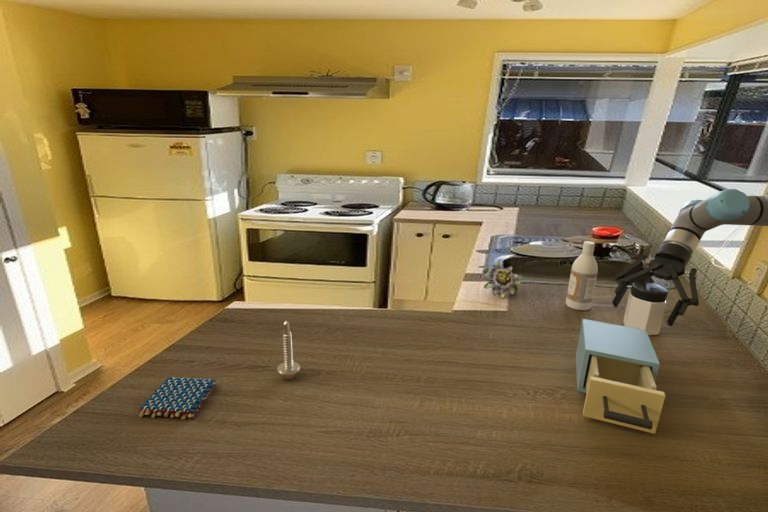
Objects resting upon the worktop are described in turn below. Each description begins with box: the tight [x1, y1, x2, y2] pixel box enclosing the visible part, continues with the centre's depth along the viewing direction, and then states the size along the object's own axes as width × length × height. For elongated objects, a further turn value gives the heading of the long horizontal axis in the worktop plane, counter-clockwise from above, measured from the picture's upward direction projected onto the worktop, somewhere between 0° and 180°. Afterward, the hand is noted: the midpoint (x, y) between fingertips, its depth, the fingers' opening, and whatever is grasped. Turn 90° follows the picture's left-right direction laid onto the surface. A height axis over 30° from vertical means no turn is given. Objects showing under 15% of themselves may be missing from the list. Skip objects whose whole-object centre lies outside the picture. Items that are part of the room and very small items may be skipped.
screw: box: [276, 320, 302, 381], centre depth 87 cm, size 13×5×5 cm
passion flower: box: [482, 261, 522, 299], centre depth 135 cm, size 11×11×12 cm
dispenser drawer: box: [582, 354, 666, 435], centre depth 79 cm, size 19×12×8 cm, turn 158°
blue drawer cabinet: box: [574, 318, 661, 394], centre depth 90 cm, size 15×13×10 cm
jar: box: [622, 281, 669, 336], centre depth 113 cm, size 9×8×12 cm
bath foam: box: [565, 240, 599, 311], centre depth 124 cm, size 7×7×20 cm
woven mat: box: [138, 376, 218, 421], centre depth 81 cm, size 10×11×2 cm
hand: (640, 313), depth 112 cm, fingers open, 13 cm apart
